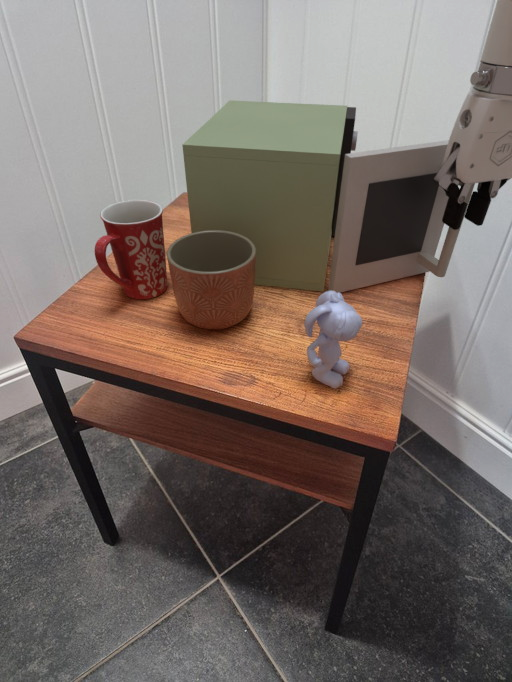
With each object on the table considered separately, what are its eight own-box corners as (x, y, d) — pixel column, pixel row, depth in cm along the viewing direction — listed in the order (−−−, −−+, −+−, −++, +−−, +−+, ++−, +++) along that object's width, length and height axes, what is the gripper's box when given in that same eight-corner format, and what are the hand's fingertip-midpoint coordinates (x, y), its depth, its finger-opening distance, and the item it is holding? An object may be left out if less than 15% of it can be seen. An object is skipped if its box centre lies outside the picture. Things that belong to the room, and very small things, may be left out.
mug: (143, 268, 78) (129, 194, 69) (184, 282, 75) (174, 206, 66) (90, 303, 70) (66, 224, 61) (133, 321, 66) (114, 240, 58)
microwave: (344, 220, 93) (360, 106, 79) (338, 293, 72) (358, 155, 58) (233, 211, 97) (229, 100, 82) (196, 278, 76) (182, 144, 61)
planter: (208, 282, 74) (203, 222, 67) (270, 305, 69) (272, 243, 62) (159, 320, 66) (147, 256, 59) (225, 349, 61) (221, 283, 54)
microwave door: (452, 288, 73) (499, 153, 59) (350, 314, 67) (375, 171, 53) (424, 267, 78) (461, 138, 64) (327, 289, 73) (344, 153, 59)
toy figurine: (343, 397, 54) (358, 321, 47) (295, 381, 57) (301, 306, 49) (358, 363, 59) (374, 289, 51) (314, 350, 61) (322, 276, 54)
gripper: (473, 91, 48) (429, 244, 59) (587, 82, 52) (525, 226, 64) (431, 79, 53) (398, 221, 65) (537, 71, 57) (488, 206, 69)
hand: (461, 222), depth 64 cm, fingers open, 3 cm apart
